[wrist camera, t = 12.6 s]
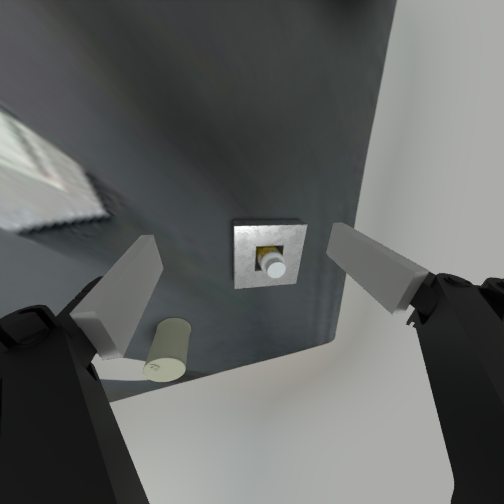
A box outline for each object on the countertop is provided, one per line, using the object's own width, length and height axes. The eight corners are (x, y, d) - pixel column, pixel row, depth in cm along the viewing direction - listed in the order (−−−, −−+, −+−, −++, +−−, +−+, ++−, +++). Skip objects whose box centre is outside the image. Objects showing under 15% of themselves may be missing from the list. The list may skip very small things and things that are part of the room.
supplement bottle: (253, 259, 45) (262, 281, 37) (255, 239, 43) (265, 259, 34) (273, 258, 46) (286, 280, 38) (276, 239, 44) (291, 258, 35)
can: (171, 312, 48) (159, 355, 38) (197, 326, 52) (193, 368, 42) (149, 331, 50) (132, 377, 39) (177, 343, 54) (168, 388, 44)
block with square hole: (232, 220, 39) (234, 226, 36) (299, 219, 42) (307, 224, 39) (233, 279, 47) (234, 288, 43) (290, 274, 50) (295, 283, 46)
